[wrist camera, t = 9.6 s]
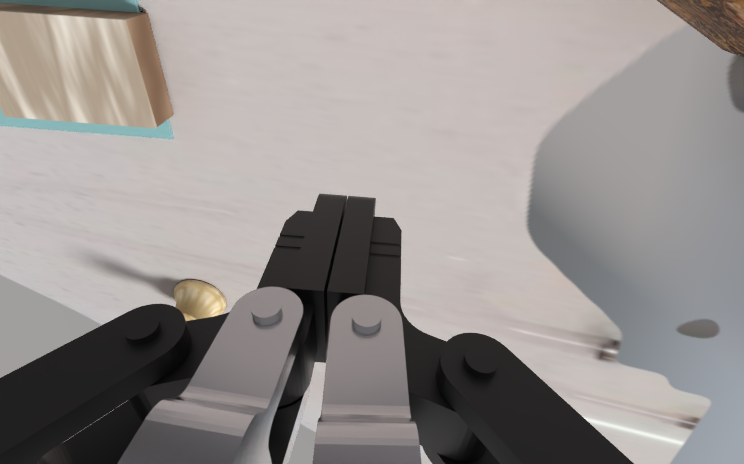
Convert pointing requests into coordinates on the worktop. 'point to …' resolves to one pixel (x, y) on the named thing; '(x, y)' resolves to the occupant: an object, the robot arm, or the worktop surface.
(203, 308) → the hand bell
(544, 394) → the robot arm
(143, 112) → the block
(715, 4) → the book
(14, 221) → the worktop surface
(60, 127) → the mat
